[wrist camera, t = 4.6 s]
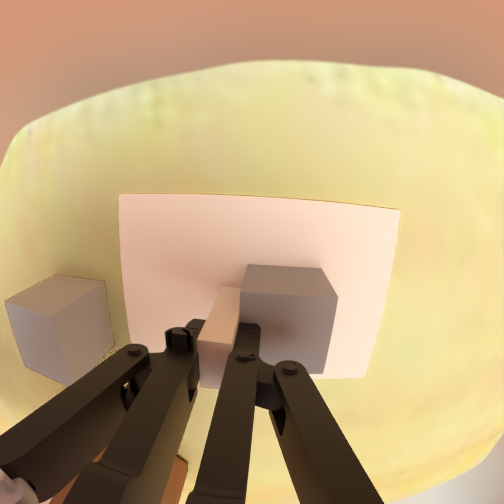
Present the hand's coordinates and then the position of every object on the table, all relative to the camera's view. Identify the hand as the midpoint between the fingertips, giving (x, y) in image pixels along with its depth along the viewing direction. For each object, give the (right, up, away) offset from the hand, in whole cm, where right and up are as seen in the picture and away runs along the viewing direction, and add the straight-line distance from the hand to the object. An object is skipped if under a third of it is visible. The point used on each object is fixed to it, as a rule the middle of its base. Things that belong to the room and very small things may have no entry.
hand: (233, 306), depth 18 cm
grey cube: (+3, 0, +1) cm, 4 cm away
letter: (+1, 0, +2) cm, 2 cm away
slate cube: (-14, -2, +3) cm, 14 cm away
